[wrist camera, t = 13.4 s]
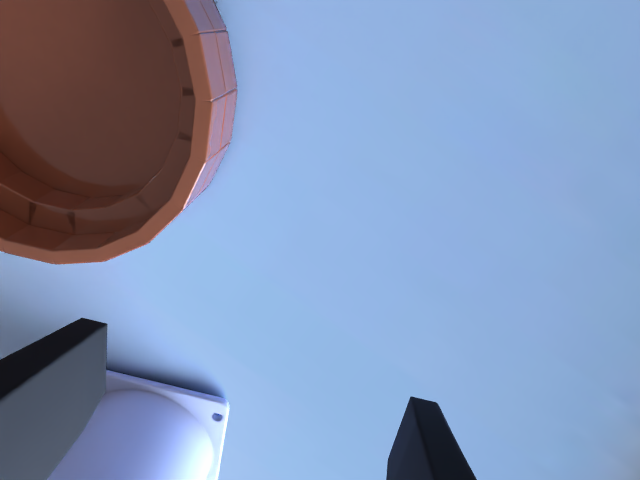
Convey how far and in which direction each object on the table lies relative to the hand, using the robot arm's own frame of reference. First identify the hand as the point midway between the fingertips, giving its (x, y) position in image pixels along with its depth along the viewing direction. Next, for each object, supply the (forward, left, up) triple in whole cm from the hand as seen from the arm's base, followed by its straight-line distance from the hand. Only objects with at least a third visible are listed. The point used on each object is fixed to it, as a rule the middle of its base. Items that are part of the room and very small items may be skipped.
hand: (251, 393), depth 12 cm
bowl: (+4, +10, -10) cm, 15 cm away
